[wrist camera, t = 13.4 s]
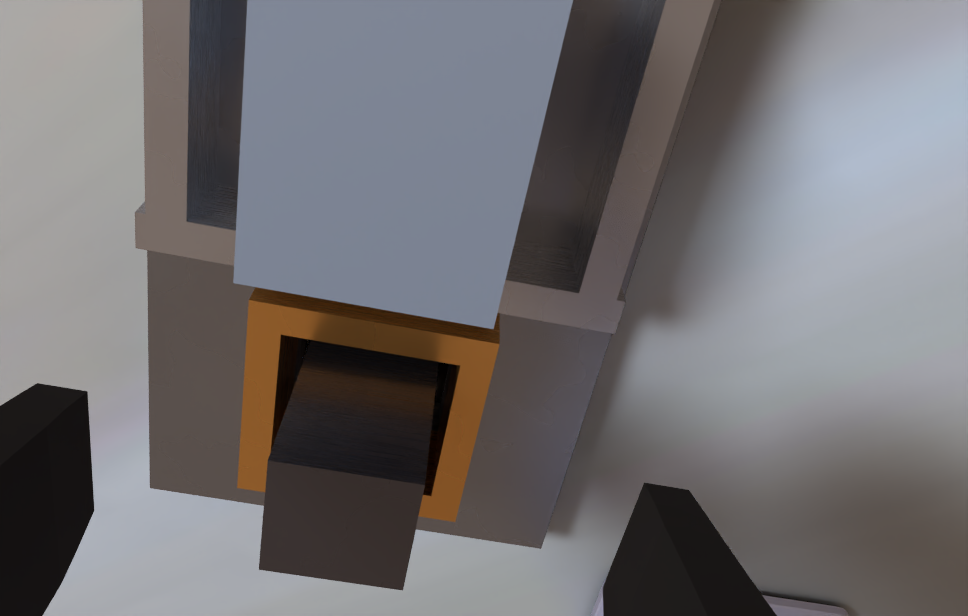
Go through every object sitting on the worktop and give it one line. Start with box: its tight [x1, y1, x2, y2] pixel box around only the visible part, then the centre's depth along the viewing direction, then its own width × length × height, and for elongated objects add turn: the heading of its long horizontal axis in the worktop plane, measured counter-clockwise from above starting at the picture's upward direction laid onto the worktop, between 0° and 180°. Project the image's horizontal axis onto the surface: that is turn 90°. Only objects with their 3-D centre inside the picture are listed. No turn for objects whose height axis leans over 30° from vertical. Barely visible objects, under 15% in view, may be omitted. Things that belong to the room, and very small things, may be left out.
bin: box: [135, 0, 722, 549], centre depth 18 cm, size 17×11×4 cm, turn 169°
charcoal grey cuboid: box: [259, 340, 439, 590], centre depth 18 cm, size 3×3×7 cm
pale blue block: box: [233, 0, 573, 329], centre depth 14 cm, size 5×4×6 cm
